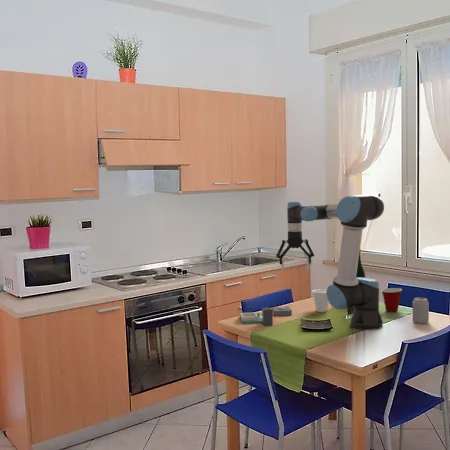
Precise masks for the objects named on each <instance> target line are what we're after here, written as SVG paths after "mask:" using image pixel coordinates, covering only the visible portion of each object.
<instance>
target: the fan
mask: <svg viewBox="0 0 450 450" xmlns="http://www.w3.org/2000/svg"><path fill="white" fill-rule="evenodd" d="M271 308H272V315H273V316H275V317H278V316H280V317H281V316H282V315H283V316H293V310H292V309H291V308H290V306H287V305H285V306H273V307H271Z"/></svg>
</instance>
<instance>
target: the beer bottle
mask: <svg viewBox="0 0 450 450" xmlns="http://www.w3.org/2000/svg"><path fill="white" fill-rule="evenodd" d="M357 277H359V278H367V277H366V273H365V270H364V267H363V264H362V259H361V251H360V252H359V259H358V266H357V273H356V278H357Z"/></svg>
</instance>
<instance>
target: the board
mask: <svg viewBox="0 0 450 450" xmlns="http://www.w3.org/2000/svg"><path fill="white" fill-rule="evenodd" d="M239 318H240V321H241V323H242V325H248V324H249V325H250V324H262V313H259V312H258V313H257V312H255V311H254V312H241V313H240V314H239Z"/></svg>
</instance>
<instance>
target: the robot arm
mask: <svg viewBox="0 0 450 450" xmlns="http://www.w3.org/2000/svg"><path fill="white" fill-rule="evenodd" d="M286 208H287V209H286V211H287V212H286V215H287V216H286V217H287V240H285V239H282V240H281V244H280V246H279V248H278V250H277V253H276V255H275V256H276V258H277V259H279V265H281V271H282V272H284V271H285V267H284V266H285V263H284V262H285V261H284V260H285V258H284V256H285V255H286V254H287V252H288V251H290V249H299V248H300V249H301V251H303V253H304V254H305V255H306V256H307V257H306V270H307V271H309V270H310V264H311V263H312V257H315V254H314V252H313V250H312V248H311V246H310V244H309V240H308V239H307V238H305V239H303V232H302V230H303V222H314V221H319V220H320V221H321V220H322V221H323V220H333V219H338V220H339V221H340V225H341V226H342V228H343V230H342V235H341V236H342V237H341V242H340V243H341V244H340V251H339V259H338V266H337V275H336V276H334V277H333V279H332V280H333V281H332V284H330V285H329V286H327V288H326V290H327V299H328V301H329V304H330V306H331V307H332V308H334V309H336V310H346V309H349V308H354V309H353V312H352V314H351V318H350V326H351V327H352V328H355V329H359V330H378V329H381V328H383V327H384V326H383V325H384V323H383V322H384V321H383V319H382V315H381V311H380V288H379V287H380V284H379V283H380V282H379V281H378V280H377V279H375V278H374V279H373V278H367V277H366V278H359V277H357V278H356V273H357V266H358V259H359V252H360V253H361V244H362V243H361V242H362V237H363V230H364V229H365V228H367V226H368V221H373V220H377V219H378V218H380V217H381V216H382V214H384V210H385V203H384V202H383V200H382V199H381V197H379V196H378V195H375V194H359V195H358V194H357V195H355V194H352V195H347V196H344V197H342V198H341V199H340V200H339V201H338V203H332V204H322V205H305V206H304V205H303V204H302V202H301V201H289V202H287V207H286ZM286 244H288V245H287V246H286V248H285V249H284V247H285V245H286ZM303 244H305V245H306V248H307V250H308V251H309V252H308V251H307V250H306V248H304V246H303ZM283 249H284V250H283Z"/></svg>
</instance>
